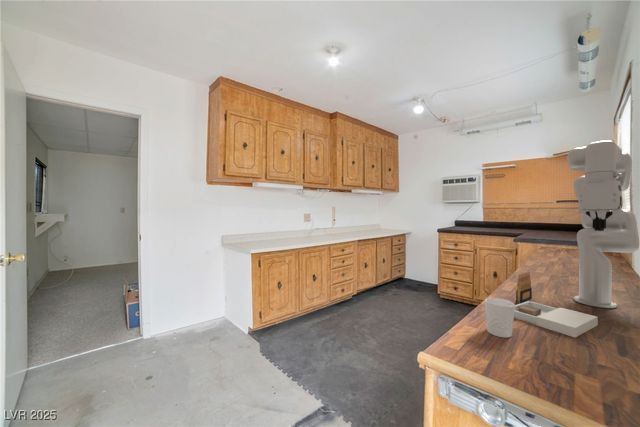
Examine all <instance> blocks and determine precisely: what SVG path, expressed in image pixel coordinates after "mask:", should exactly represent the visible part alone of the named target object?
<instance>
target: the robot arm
mask: <svg viewBox="0 0 640 427" xmlns="http://www.w3.org/2000/svg"><path fill="white" fill-rule="evenodd" d="M566 159H567V160H566V162H567V166H568V168H569V169H570V170H573V171H582V172H584V175H581V176H578V177H577V178H575V179H574V181H573V191H574V194H575V197H576V199H577V201H578V208H579V209H578V213H579V214H580V216H581V218H580V221H581V226H582V227H583V228H582V229H580V230H578V232H577V233H576V242H577V247H578V248H577V249H578V261H579V262H578V266H579V267H578V268H579V270H578V272H579V273H578V295H575V296H574V297H573V300H574V301H575V302H577V303H579V304H582V305H585V306H591V307H594V308H595V307H596V308H604V309H615V308H617V306H618V304H617V303H616V302H614V301H612V273H613V272H612V270H613V266H612V261H611V260H610V259H609V257H607V256H606V255H605V254H604V253H608V252H609V253H610V252H611V253H620V254H621V253H622V254H632V253H635V252H637V251H638V250H639V248H640V237H639V236H640V235H639V230H638V223H637V216H636V215H635V213H634V212H633V211H632V210H629V209H626V208H623V207H624V206H623V205H624V200H623V192H625V191H627V190H628V189H629V187H630V185H631V176H632V169H633V160H632V156H631V155H630V154H629V153H628V152H625V151H623V148H622V147H620V146H619V145H618V144H617V143H616V142H615V141H613V140H600V141H596V142H595V141H594V142H590V143H588V144H587V145H586V146H583V147H575V148H572V149H571V150H569V151H568V153H567V156H566Z"/></svg>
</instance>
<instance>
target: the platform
mask: <svg viewBox="0 0 640 427" xmlns="http://www.w3.org/2000/svg"><path fill="white" fill-rule="evenodd" d="M598 317H599V316H596V315H592V314H588V313H584V312H580V311H576V310H572V309H567V308H566V307H565V308H564V307H558V309H555V310H552V311H550V312H547V313H545V314H542V315H539V316H537V325H536V326H537V327H541V328H543V329H547V330H549V331H550V330H551V331H554V332H556V333H559V334H562V335H566V336H569V337H572V338H577V337H579V336H581V335H583V334H584V333H586V332H588V331H590V330H592V329H594V328H596V327H597V326H598V325H599V324H598V322H599V320H598V319H599V318H598Z"/></svg>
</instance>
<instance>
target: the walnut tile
mask: <svg viewBox="0 0 640 427" xmlns="http://www.w3.org/2000/svg"><path fill="white" fill-rule="evenodd" d="M519 312H522V313H525V314H529V315H532V316H538V315H541V309H539V308H535V307H531V306H528V305H524V306H521V307H519Z"/></svg>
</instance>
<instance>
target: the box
mask: <svg viewBox="0 0 640 427" xmlns="http://www.w3.org/2000/svg"><path fill="white" fill-rule="evenodd" d="M524 305H528V306H531V307H535V308H539V309H541V315H542V314H545V313H547V312H550V311H552V310H555V309H558V308H559V307H558V308H557V307H554V306H549V305H546V304H542V303H538V302H534V301H531V300H528V301H526V302H523V303H518V304H515V308H514V319H517V320H520V321H524V322H527V323H529V324H532V325H536V326H537V316H532V315H529V314H525V313H522V312H519V307H521V306H524ZM538 316H539V315H538Z"/></svg>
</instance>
